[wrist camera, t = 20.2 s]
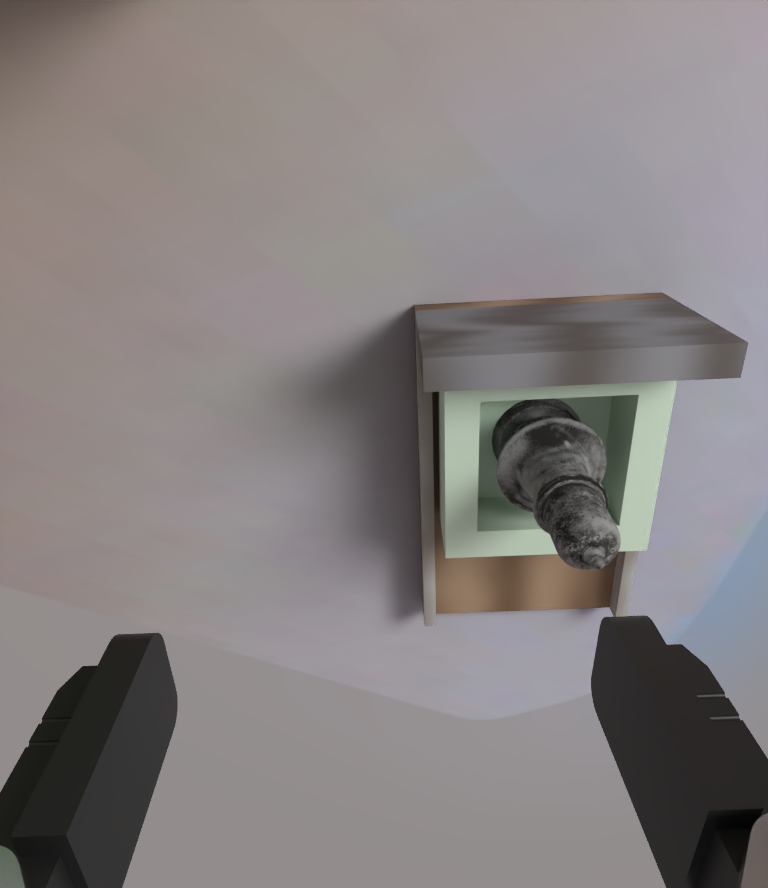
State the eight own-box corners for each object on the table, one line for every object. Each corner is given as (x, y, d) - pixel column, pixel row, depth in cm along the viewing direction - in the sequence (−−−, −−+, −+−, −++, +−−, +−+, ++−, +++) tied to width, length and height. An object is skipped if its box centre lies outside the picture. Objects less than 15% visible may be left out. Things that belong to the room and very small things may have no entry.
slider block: (439, 515, 40) (445, 558, 36) (437, 342, 34) (444, 369, 30) (620, 507, 39) (646, 550, 35) (646, 332, 34) (681, 359, 30)
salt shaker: (534, 498, 38) (592, 643, 27) (466, 442, 36) (499, 573, 25) (608, 434, 36) (703, 563, 25) (540, 371, 34) (610, 481, 23)
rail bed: (422, 602, 45) (430, 707, 37) (414, 305, 35) (422, 358, 27) (615, 595, 44) (666, 700, 36) (662, 292, 34) (748, 342, 26)
